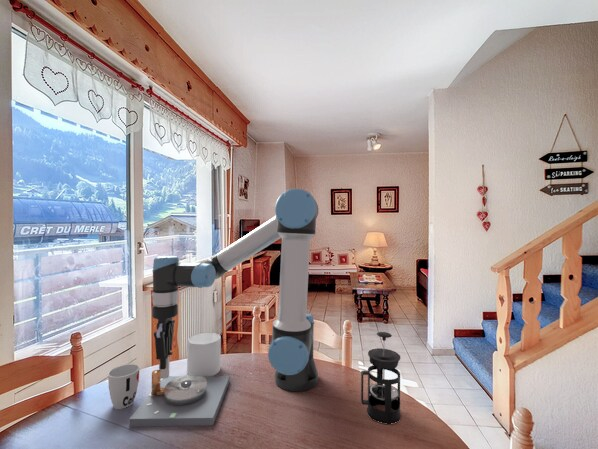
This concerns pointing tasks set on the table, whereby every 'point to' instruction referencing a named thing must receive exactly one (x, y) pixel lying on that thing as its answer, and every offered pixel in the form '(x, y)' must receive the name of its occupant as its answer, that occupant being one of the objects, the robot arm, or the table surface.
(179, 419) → the board
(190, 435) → the table surface
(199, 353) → the cup
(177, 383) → the dial
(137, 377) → the cup
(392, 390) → the french press
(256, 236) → the robot arm
